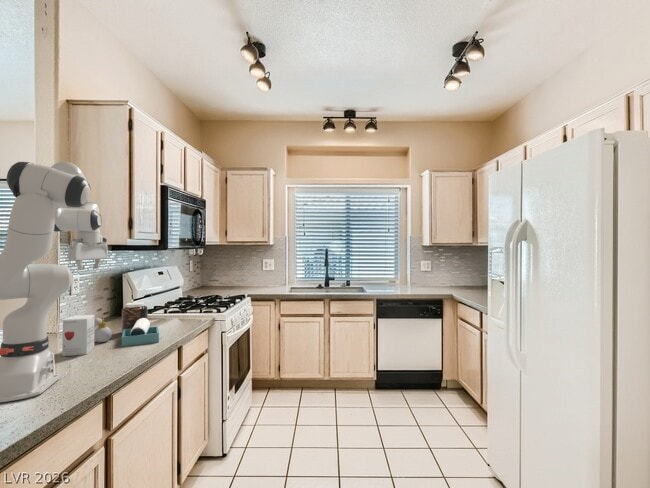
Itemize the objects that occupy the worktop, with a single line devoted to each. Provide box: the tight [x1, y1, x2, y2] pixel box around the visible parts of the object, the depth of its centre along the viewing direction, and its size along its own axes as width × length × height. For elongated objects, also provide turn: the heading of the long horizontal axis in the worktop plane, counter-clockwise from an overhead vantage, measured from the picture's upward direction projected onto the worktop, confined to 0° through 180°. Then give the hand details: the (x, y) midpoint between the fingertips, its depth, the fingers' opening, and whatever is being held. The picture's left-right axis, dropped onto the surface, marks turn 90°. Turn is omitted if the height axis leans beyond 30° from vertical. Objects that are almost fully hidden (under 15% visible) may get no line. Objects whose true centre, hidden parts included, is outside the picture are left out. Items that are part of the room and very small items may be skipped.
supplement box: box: [61, 314, 95, 357], centre depth 147 cm, size 9×9×15 cm
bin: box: [121, 325, 160, 347], centre depth 165 cm, size 15×15×4 cm
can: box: [130, 318, 151, 336], centre depth 166 cm, size 6×6×12 cm
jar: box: [121, 301, 149, 334], centre depth 180 cm, size 12×12×15 cm
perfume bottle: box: [94, 316, 113, 344], centre depth 162 cm, size 8×10×12 cm
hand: (88, 269), depth 158 cm, fingers open, 8 cm apart
